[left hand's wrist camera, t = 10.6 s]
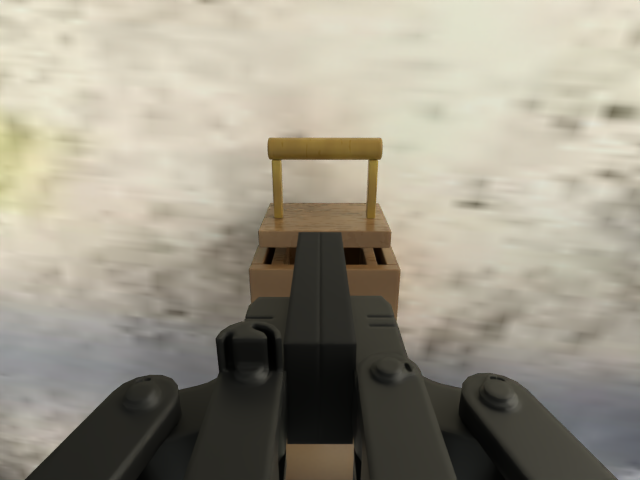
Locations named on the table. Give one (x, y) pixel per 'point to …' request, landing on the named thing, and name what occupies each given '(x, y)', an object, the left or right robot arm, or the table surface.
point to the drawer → (348, 218)
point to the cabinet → (364, 280)
